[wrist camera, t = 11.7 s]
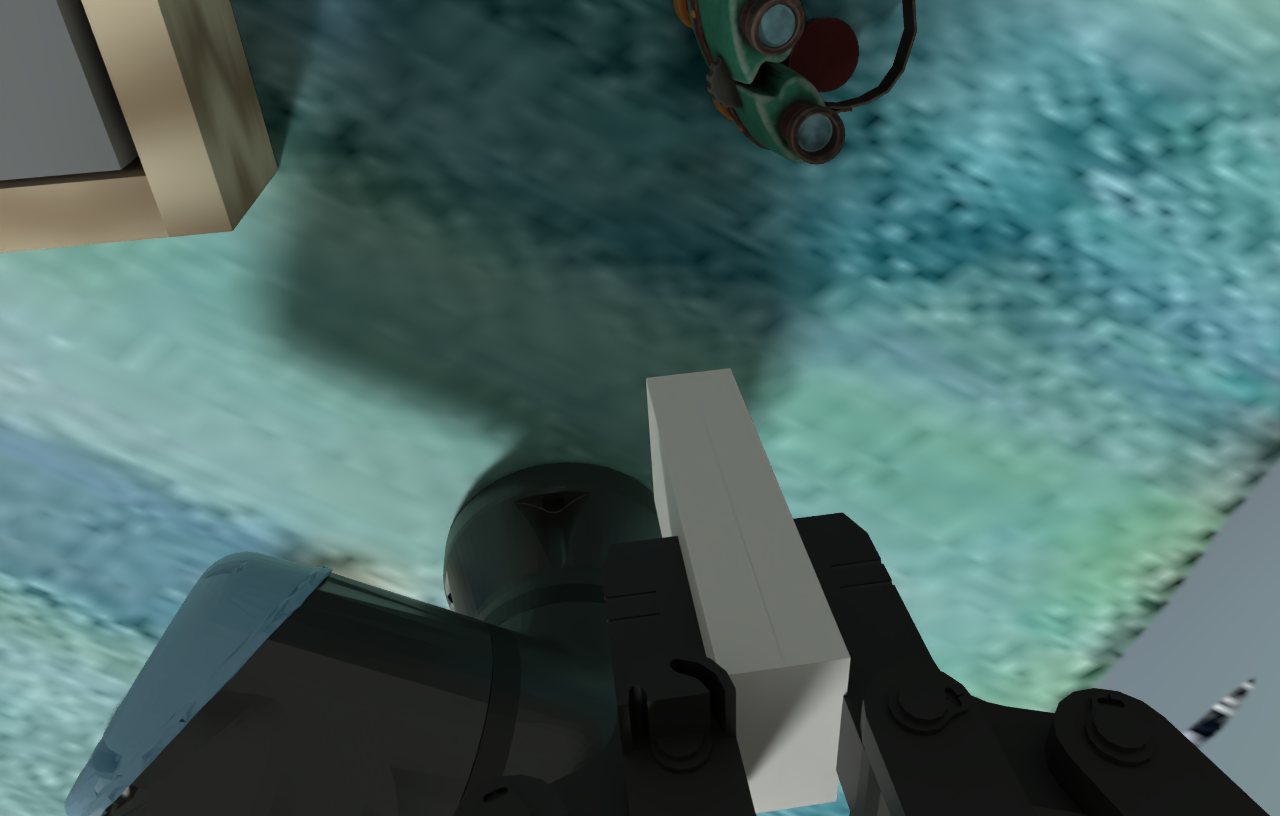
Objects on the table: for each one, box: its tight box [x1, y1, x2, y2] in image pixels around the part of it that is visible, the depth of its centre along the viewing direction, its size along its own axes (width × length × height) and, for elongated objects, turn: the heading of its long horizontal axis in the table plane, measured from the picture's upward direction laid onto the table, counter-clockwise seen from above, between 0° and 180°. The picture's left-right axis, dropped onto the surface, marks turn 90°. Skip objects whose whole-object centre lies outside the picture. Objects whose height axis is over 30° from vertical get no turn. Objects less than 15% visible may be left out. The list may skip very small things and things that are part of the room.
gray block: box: [0, 0, 139, 180], centre depth 34 cm, size 6×6×8 cm
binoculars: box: [673, 0, 917, 164], centre depth 37 cm, size 9×11×10 cm
